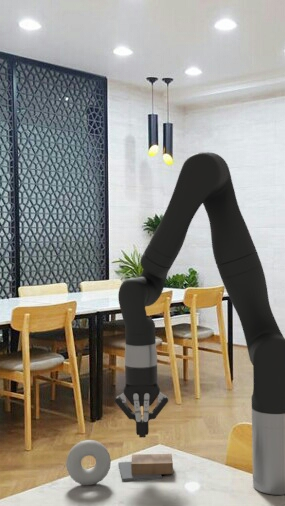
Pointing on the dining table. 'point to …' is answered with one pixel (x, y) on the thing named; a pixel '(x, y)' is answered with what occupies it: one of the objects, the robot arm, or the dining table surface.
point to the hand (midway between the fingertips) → (142, 436)
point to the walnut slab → (151, 464)
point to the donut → (88, 475)
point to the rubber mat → (127, 475)
